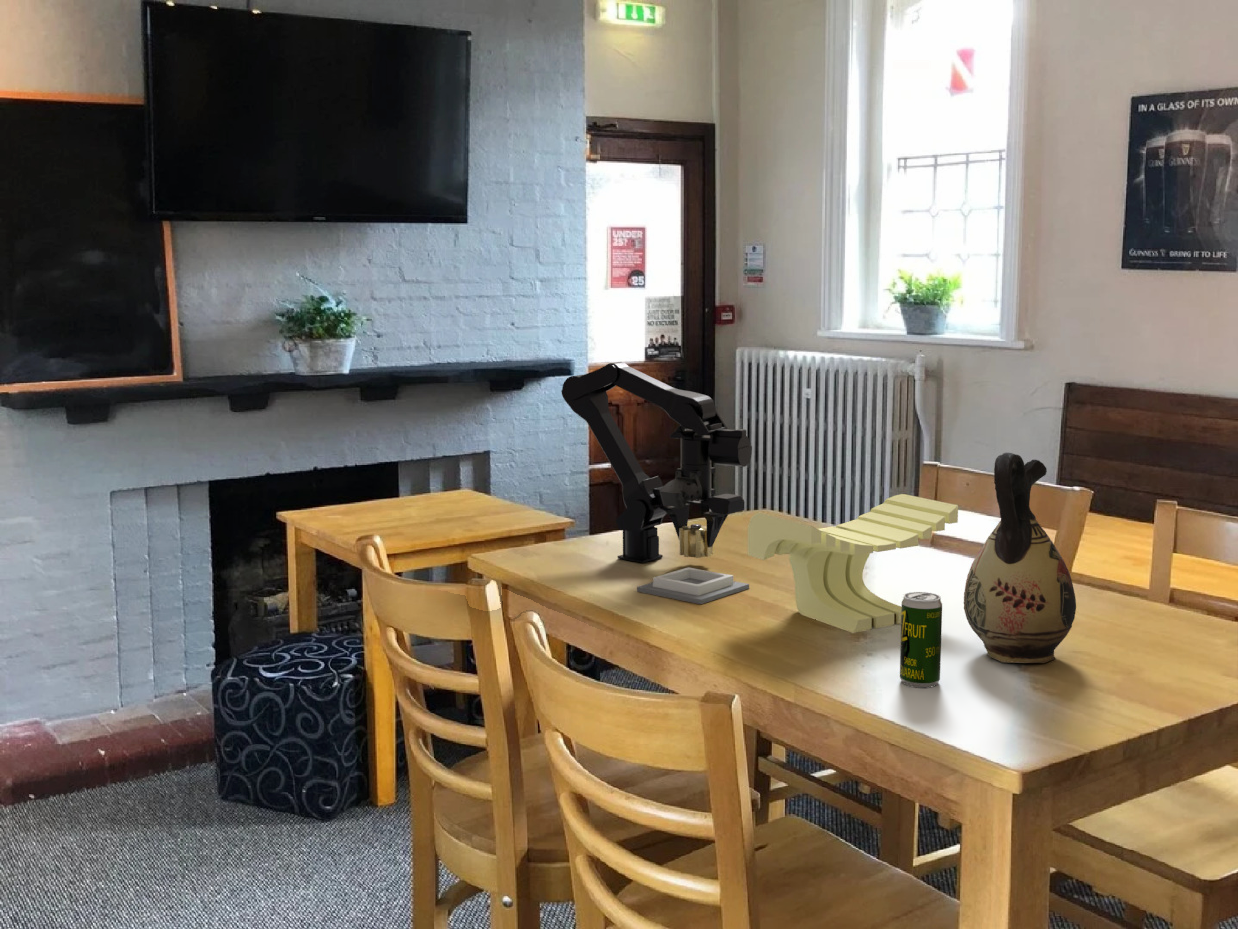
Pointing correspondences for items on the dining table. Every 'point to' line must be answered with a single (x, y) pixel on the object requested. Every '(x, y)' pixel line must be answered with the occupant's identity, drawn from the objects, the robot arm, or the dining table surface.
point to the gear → (694, 541)
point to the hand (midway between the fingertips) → (695, 544)
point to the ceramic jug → (1019, 576)
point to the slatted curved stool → (847, 557)
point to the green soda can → (920, 639)
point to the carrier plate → (693, 585)
